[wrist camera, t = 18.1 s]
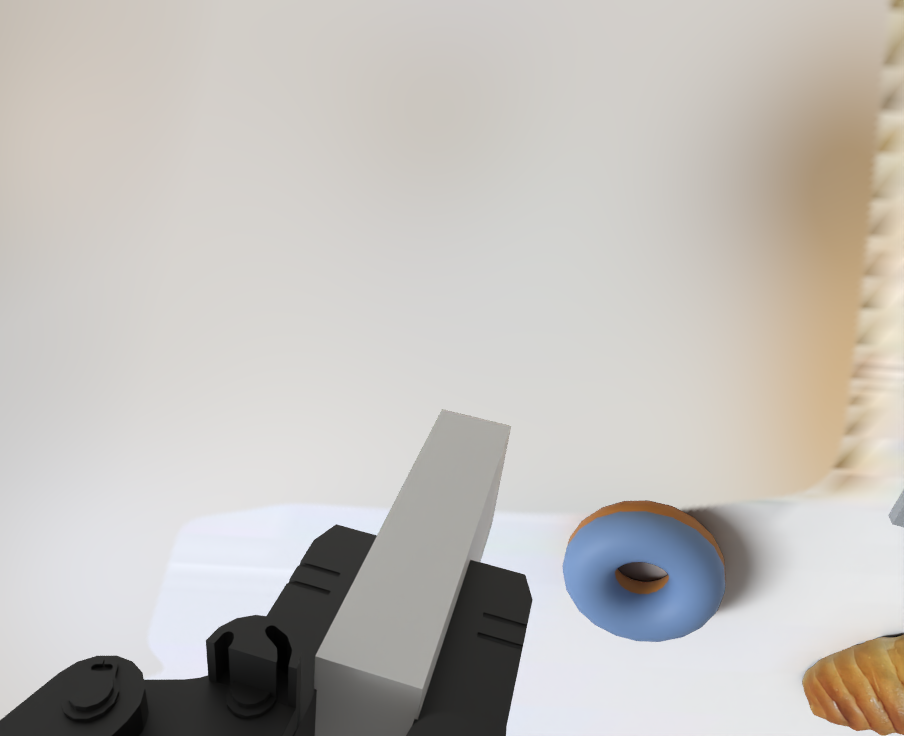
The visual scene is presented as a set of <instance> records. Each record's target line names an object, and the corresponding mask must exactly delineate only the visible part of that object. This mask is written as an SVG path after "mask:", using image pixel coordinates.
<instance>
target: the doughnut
mask: <svg viewBox="0 0 904 736" xmlns="http://www.w3.org/2000/svg"><path fill="white" fill-rule="evenodd" d="M631 562H646V563H650V564H654V565H656V566H658V567H660V568H662V569H664V570H665V571H666V572H667V573H668V575H667V576H665V577H664V578H662V579H660V580H656V581H652V582H641V581H637V580H632V579H630V578H628V577H626V576H624V575H623V574H622V573H621V572H620V571H619V570H618V569H617V568H619V567H620V566H622V565H624V564H627V563H631ZM563 574H564V579H565V584H566V590H567V591H568V593H569V595H570V596H571V598H572V600H573V601H574V603H575V605H576V606H577V608H578V610H579V611H580V612H581V613H582V614H583V615H585V616H586V617H587V618H588V619H589V620H590V621H591V622H592V623H594V624H595V625H597V626H598V627H600V628H602V629H604V630H606V631H608V632H610V633H612V634H614V635H616V636H620V637H624V638H628V639H632V640H635V641H651V642H661V641H666V640H670V639H675V638H680V637H684V636H686V635H688V634H690V633H692V632H694V631H695V630H697V629H699V628H701V627H702V626H703V625H704V624H705V623H706V622H707V621H708V620H709V619H710V618H711V617H712V616H713V615H714V614H715V613H716V611H717V610H718V608H719V605H720V603H721V600H722V597H723V595H724V592H725V580H726V577H725V563H724V557H723V555H722V553H721V551H720V549H719V547H718V545H717V543H716V541H715V539H714V537H713V535H712V534H711V533H710V532H709V531H708V530H707V529H705V528H704V527H703V526H702V525H701V524H700V523H699V522H698V521H697V520H696V519H695V518H694V517H692V516H690V515H688V514H686V513H684V512H682V511H680V510H679V509H677V508H675V507H673V506H669V505H665V504H661V503H656V502H652V501H623V502H620V503H616V504H613V505H609V506H606V507H603V508H601V509H599V510H598V511H596V512H595V513H593V514H592V515H590V516H589V517H587V518H586V519H584V520H583V521H582V522H581V523H580V524H579V526H578V527H577V529H576V530H575V531H574V533H573V534H572V535H571V537H570V539H569V542H568V546H567V549H566V553H565V558H564V562H563Z"/></svg>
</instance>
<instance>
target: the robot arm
mask: <svg viewBox="0 0 904 736" xmlns="http://www.w3.org/2000/svg"><path fill="white" fill-rule="evenodd" d="M510 429H511V426H509V425H505V424H500V423H496V422H492V421H488V420H484V419H480V418H476V417H472V416H467V415H463V414H459V413H455V412H451V411H447V410H443V409H442V411H441V412H440V415H439V416H438V419H437V420H436V422H435V424H434V426H433V428H432V430H431V432H430V434H429V436H428V438H427V440H426V442H425V444H424V446H423V447H422V449H421V451H420V454H419V455H418V457H417V459H416V461H415V463H414V465H413V467H412V469H411V471H410V473H409V475H408V477H407V479H406V481H405V483H404V484H403V486H402V488H401V490H400V492H399V494H398V496H397V498H396V500H395V502H394V504H393V506H392V508H391V510H390V512H389V514H388V516H387V517H386V519H385V521H384V523H383V525H382V527H381V529H380V531H379V533H378V535H377V536H376V535H373V534H369V533H365V532H362V531H358V530H354V529H351V528H347V527H344V526H340V525H335V526H333V527H332V528H331V529H329V530H328V531H326V532H325V533H323V534H322V535H321V536H319V537H318V538H316V539H315V540H314V541H313V543H312V544H311V546H310V547H309V549H308V551H307V552H306V554H305V555H304V557H303V559H302V560H301V563H300V565H299V566H298V567H297V568H296V570H295V571H294V573H293V575H292V576H291V578H290V581H289V583H288V584H286V586H285V587H284V589H283V591H282V592H281V594H280V595H279V597H278V599H277V600H276V602H275V603H274V605H273V607H272V608H271V610H270V611H269V613H268V615H267V616H259V615H253V616H248V617H242V618H236V619H234V620H233V621H231V622H229V623H227V624H225V625H223V626H221V627H219V628H218V629H217V630H216V631H215V632H214V633H213V634H212V635H211V636H210V637H209V638H208V639H207V640H206V648H207V663H208V676H204V677H201V678H195V679H185V680H144V679H143V674H142V672H141V671H140V669H138V667H137V666H136V665H135V664H134V663H133V662H132V661H129V660H127V659H124V658H121V657H119V656H96V657H92V658H89V659H86V660H82V661H79V662H76V663H75V664H73V665H71V666H70V667H68V668H67V669H65V670H63V671H62V672H60V673H59V674H57V675H56V676H55V677H54V678H52V679H51V680H50V681H49V682H47V683H46V684H45V685H44V686H42V687H41V688H40V689H39V690H37V691H36V692H35V693H34V694H32V695H31V696H30V697H29V698H27V699H26V700H25V701H24V702H22V703H21V704H20V705H19V706H17V707H16V708H15V709H14V710H12V711H11V712H10V713H9V714H8V715H6V716H5V717H4V718H3V719H1V720H0V736H506V725H507V720H508V716H509V711H510V706H511V701H512V696H513V691H514V686H515V682H516V677H517V672H518V667H519V662H520V657H521V652H522V647H523V643H524V638H525V633H526V628H527V623H528V618H529V614H530V609H531V604H532V597H531V593H530V590H529V586H528V583H527V579H526V576H525V575H524V574H520V573H517V572H513V571H509V570H506V569H502V568H499V567H495V566H491V565H488V564H484V563H480V561H481V558H482V554H483V551H484V548H485V545H486V542H487V538H488V535H489V532H490V529H491V525H492V521H493V516H494V510H495V505H496V500H497V495H498V490H499V485H500V479H501V474H502V469H503V464H504V459H505V454H506V449H507V444H508V439H509V434H510Z"/></svg>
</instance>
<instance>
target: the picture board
mask: <svg viewBox="0 0 904 736" xmlns="http://www.w3.org/2000/svg"><path fill="white" fill-rule="evenodd" d="M889 517H890V520H891V522H892V524H894V525H897V526H901V527H904V491H903V492H902V494H901V496H900V497H899V499H898V501H897V502H896V504H895V506H894V507H893V509H892V510H891V512H890V514H889Z"/></svg>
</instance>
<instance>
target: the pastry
mask: <svg viewBox="0 0 904 736" xmlns="http://www.w3.org/2000/svg"><path fill="white" fill-rule="evenodd" d="M802 684H803V687H804V692H805V695H806V697H807V699H808V702H809V705H810V708H811V710H812V712H813V714H814V715H816V716H819V717H821V718H824V719H826V720H828V721H829V722H832V723H835V724H838V725H843V726H849V727H850V728H852V729H854V730H856V731H860V730H867V729H870V730H873V731H875V732H877V733H878V734H880V735H888V734H891V733H899V734H902V735H904V634H903V635H902V636H898V637H891V638H888V637H880V638H877V639H874V640H869V641H866V642H865V643H863V644H859V645H854V646H852V647H850V648H847V649H845V650H842V651H840V652H837V653H834V654H832V655H829V656H827V657H825V658H823V659H821V660H819V661H818V662H817V663H816V664H815V665H814V666H813V667H811V668H810V669H808V670H807V671H806V673H805V675H804V677H803V681H802Z"/></svg>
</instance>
